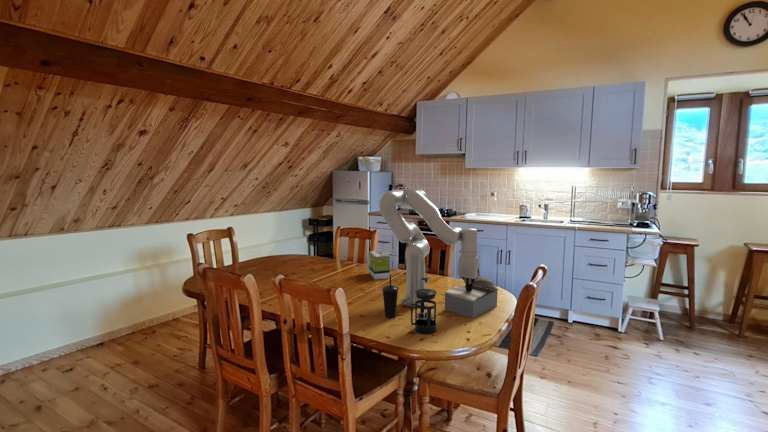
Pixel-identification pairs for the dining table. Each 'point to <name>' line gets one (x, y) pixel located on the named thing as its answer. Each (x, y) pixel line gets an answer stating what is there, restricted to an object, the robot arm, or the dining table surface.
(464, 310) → the storage box
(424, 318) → the french press
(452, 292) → the near flap
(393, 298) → the drinking cup
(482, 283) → the far flap
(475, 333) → the dining table surface
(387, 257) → the tea box
